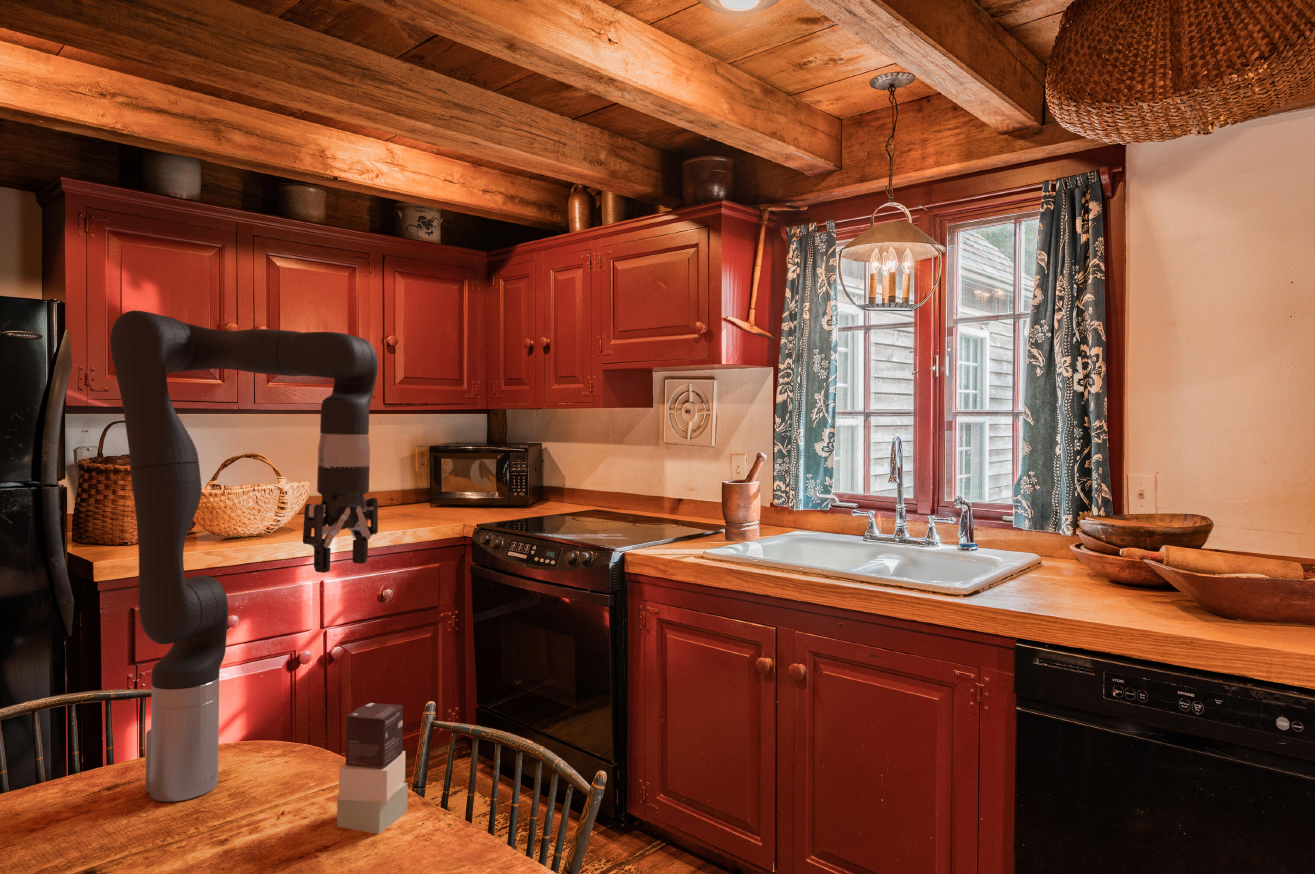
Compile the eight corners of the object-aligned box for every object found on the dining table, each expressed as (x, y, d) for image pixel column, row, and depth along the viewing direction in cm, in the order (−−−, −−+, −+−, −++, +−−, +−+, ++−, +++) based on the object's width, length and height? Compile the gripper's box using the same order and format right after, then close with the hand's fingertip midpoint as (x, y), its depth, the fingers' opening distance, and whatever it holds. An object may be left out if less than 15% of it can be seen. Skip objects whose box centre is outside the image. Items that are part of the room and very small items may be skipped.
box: (383, 770, 114) (383, 718, 114) (344, 766, 115) (344, 715, 115) (403, 753, 120) (404, 704, 120) (366, 749, 121) (367, 701, 121)
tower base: (336, 827, 115) (337, 796, 115) (366, 806, 122) (367, 776, 122) (379, 835, 113) (379, 803, 113) (407, 812, 120) (407, 782, 120)
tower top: (338, 799, 114) (339, 768, 114) (359, 778, 121) (360, 748, 121) (386, 801, 114) (387, 770, 114) (405, 780, 121) (405, 750, 121)
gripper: (354, 460, 132) (351, 558, 132) (290, 464, 118) (287, 573, 118) (392, 462, 129) (390, 562, 130) (332, 466, 116) (329, 577, 116)
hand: (341, 567), depth 124 cm, fingers open, 8 cm apart
